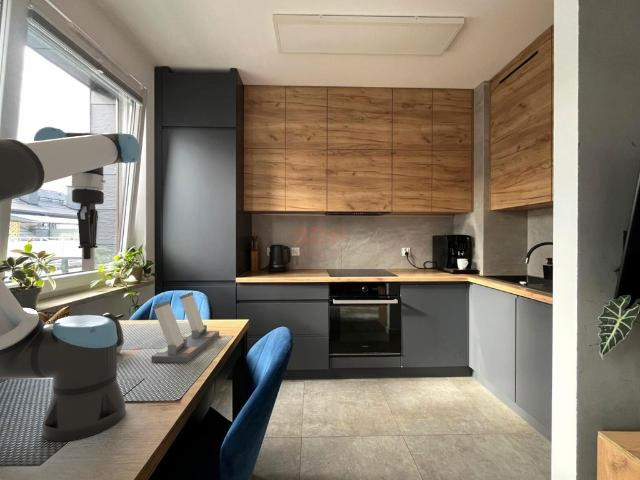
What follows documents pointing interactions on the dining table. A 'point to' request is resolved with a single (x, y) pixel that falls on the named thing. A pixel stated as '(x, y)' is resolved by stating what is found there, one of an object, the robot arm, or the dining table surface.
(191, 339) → the switch base
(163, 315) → the near lever
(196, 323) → the far lever
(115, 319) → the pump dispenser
